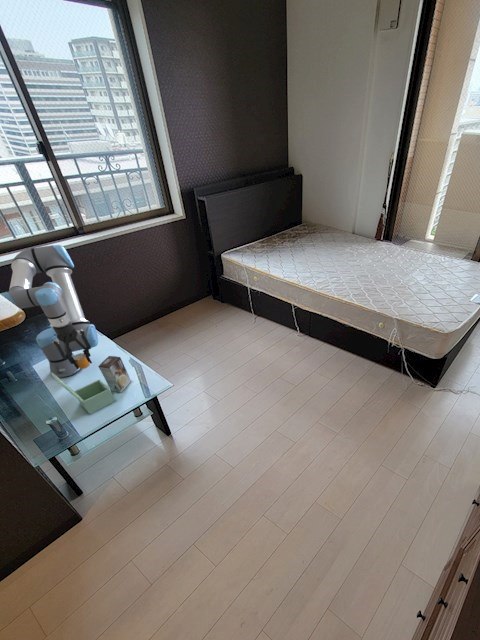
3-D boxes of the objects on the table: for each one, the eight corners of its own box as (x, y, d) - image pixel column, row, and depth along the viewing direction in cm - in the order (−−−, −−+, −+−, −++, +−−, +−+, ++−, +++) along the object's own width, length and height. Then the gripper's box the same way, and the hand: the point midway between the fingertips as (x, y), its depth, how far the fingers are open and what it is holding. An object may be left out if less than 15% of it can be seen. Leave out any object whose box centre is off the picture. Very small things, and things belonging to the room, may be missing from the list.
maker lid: (52, 372, 152) (50, 373, 151) (61, 383, 146) (60, 384, 146) (73, 390, 162) (71, 391, 162) (83, 401, 157) (81, 402, 156)
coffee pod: (76, 365, 168) (70, 356, 164) (87, 360, 171) (82, 351, 167) (80, 370, 165) (75, 361, 161) (92, 365, 168) (87, 356, 164)
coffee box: (120, 379, 181) (109, 355, 170) (131, 381, 180) (120, 356, 169) (110, 390, 175) (97, 365, 164) (121, 392, 174) (109, 367, 163)
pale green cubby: (105, 391, 174) (99, 379, 169) (115, 401, 169) (109, 389, 164) (80, 403, 168) (73, 391, 162) (89, 414, 162) (82, 402, 157)
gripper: (41, 335, 145) (67, 377, 161) (85, 318, 155) (105, 359, 171) (35, 328, 149) (61, 370, 165) (79, 313, 159) (99, 354, 175)
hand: (83, 364), depth 168 cm, fingers closed on coffee pod, 6 cm apart
